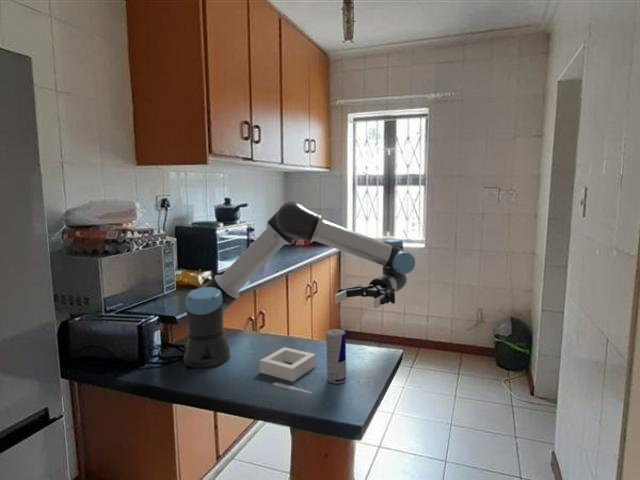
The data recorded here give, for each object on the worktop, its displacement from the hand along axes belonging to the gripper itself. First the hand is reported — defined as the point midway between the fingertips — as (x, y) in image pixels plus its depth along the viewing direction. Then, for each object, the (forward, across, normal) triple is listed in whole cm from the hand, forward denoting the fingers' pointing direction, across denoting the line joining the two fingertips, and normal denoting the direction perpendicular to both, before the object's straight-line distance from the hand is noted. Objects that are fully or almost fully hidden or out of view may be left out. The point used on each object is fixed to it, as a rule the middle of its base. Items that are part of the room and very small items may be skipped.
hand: (354, 301), depth 129 cm
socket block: (+12, +18, -21) cm, 30 cm away
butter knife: (+21, +3, -22) cm, 30 cm away
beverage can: (+11, +1, -22) cm, 24 cm away
